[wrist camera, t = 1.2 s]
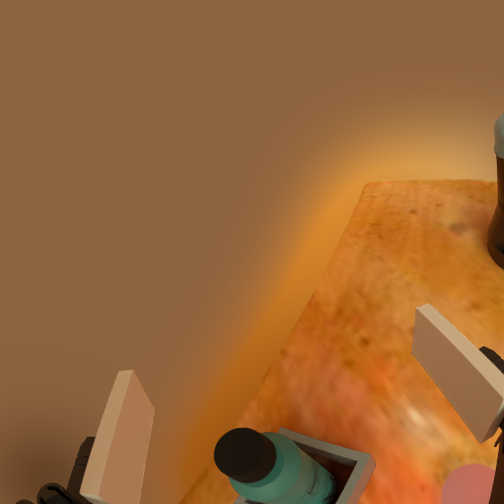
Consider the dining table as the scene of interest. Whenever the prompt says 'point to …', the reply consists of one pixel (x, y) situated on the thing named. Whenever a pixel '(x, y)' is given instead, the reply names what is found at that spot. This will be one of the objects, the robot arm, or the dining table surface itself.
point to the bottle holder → (337, 454)
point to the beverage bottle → (272, 469)
